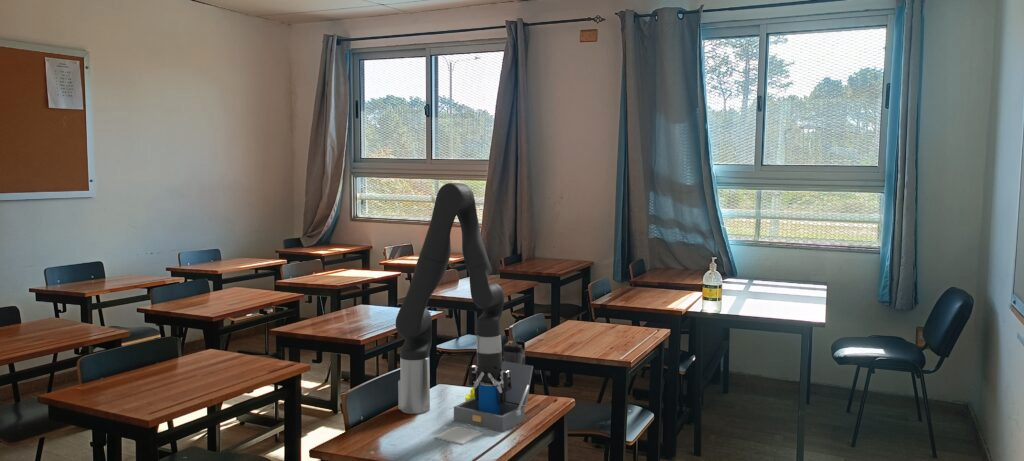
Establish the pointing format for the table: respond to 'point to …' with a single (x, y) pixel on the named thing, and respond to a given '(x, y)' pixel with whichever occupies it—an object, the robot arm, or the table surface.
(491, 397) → the beverage can
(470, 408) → the case
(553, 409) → the table surface
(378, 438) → the table surface
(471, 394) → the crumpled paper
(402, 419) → the table surface
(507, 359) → the electronic device
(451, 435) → the pad
